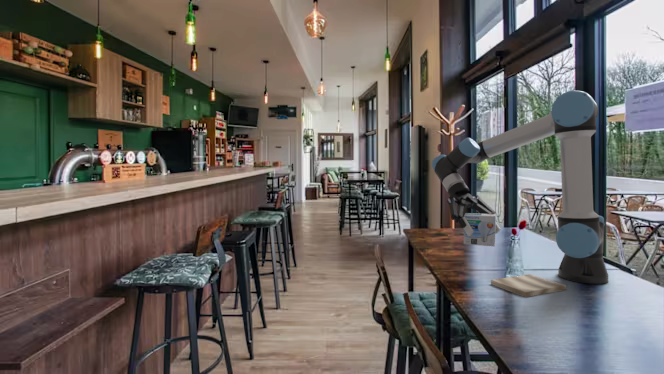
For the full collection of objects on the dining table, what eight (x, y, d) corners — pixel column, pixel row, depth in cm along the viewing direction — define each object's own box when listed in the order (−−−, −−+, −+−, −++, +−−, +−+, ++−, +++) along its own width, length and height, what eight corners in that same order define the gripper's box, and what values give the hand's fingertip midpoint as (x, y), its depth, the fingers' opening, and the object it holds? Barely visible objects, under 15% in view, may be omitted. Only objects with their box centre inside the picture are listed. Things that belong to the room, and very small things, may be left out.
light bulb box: (463, 244, 139) (463, 214, 138) (464, 241, 145) (464, 212, 145) (495, 246, 135) (496, 215, 134) (495, 243, 141) (495, 213, 141)
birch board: (529, 278, 139) (529, 274, 139) (565, 289, 127) (566, 285, 126) (490, 284, 133) (491, 279, 133) (525, 297, 120) (525, 292, 120)
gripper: (475, 193, 158) (504, 236, 145) (426, 195, 149) (452, 241, 135) (485, 180, 153) (516, 224, 139) (435, 181, 144) (463, 228, 130)
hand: (485, 232), depth 137 cm, fingers closed on light bulb box, 12 cm apart
